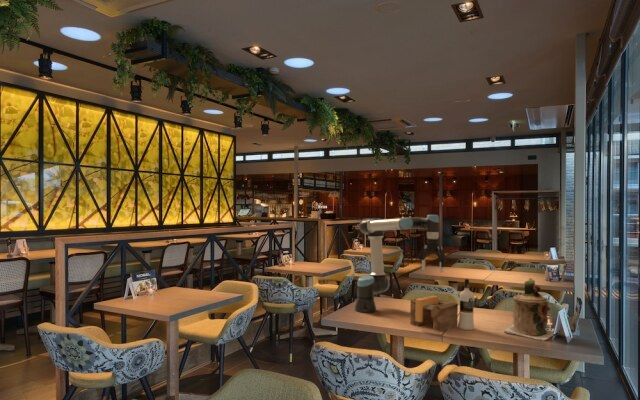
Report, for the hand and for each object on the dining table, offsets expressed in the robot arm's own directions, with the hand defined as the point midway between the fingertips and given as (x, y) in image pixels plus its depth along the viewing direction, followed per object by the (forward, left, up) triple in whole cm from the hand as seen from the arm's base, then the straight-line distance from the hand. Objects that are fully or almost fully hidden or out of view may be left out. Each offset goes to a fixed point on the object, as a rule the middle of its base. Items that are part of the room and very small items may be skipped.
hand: (432, 271), depth 301 cm
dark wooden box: (+9, -11, -32) cm, 35 cm away
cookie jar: (+56, +19, -32) cm, 67 cm away
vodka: (+26, -2, -32) cm, 41 cm away
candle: (-15, +6, -32) cm, 36 cm away
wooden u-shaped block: (+9, -19, -27) cm, 34 cm away
